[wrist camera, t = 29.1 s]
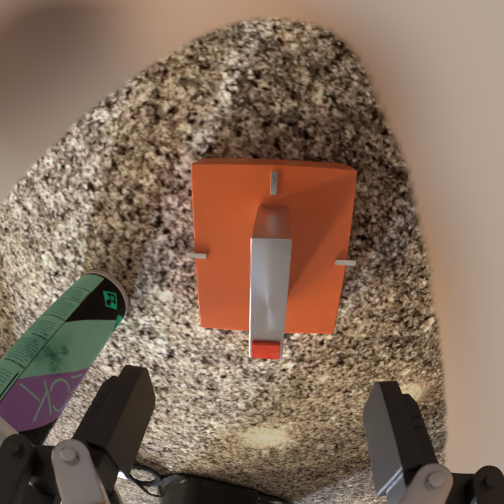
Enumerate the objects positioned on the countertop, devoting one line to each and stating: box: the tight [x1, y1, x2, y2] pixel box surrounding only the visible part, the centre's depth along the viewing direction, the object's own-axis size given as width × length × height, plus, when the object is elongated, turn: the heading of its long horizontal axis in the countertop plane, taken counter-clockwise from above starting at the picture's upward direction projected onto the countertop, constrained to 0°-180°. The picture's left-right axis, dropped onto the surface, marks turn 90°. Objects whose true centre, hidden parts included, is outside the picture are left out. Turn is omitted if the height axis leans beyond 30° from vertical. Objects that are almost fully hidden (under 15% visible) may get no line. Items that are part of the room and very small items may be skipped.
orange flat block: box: [185, 158, 357, 334], centre depth 21 cm, size 12×11×3 cm
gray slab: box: [249, 206, 292, 359], centre depth 17 cm, size 7×2×6 cm, turn 179°
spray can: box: [0, 270, 129, 446], centre depth 17 cm, size 6×6×20 cm
